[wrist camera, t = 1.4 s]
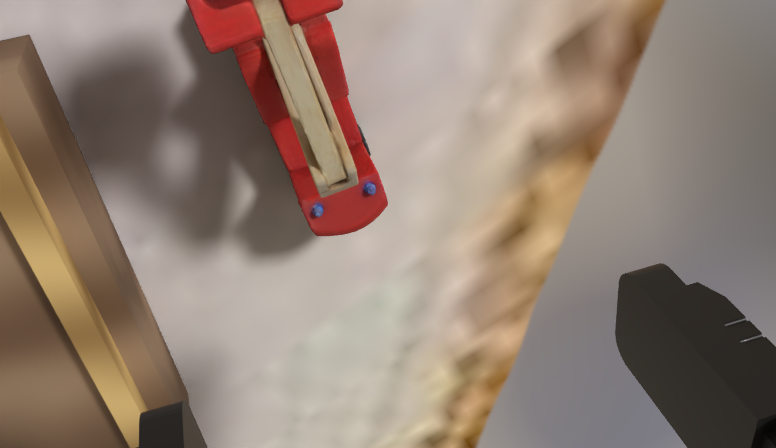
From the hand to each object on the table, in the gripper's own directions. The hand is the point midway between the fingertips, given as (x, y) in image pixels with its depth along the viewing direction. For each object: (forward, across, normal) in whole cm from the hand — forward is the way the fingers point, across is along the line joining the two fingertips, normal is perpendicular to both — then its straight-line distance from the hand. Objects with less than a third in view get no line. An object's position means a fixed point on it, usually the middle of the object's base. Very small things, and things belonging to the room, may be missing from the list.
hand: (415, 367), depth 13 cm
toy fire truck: (+17, 0, 0) cm, 17 cm away
